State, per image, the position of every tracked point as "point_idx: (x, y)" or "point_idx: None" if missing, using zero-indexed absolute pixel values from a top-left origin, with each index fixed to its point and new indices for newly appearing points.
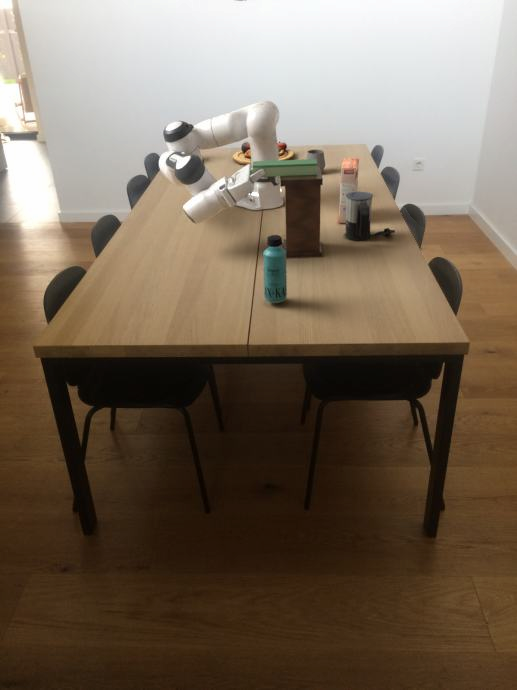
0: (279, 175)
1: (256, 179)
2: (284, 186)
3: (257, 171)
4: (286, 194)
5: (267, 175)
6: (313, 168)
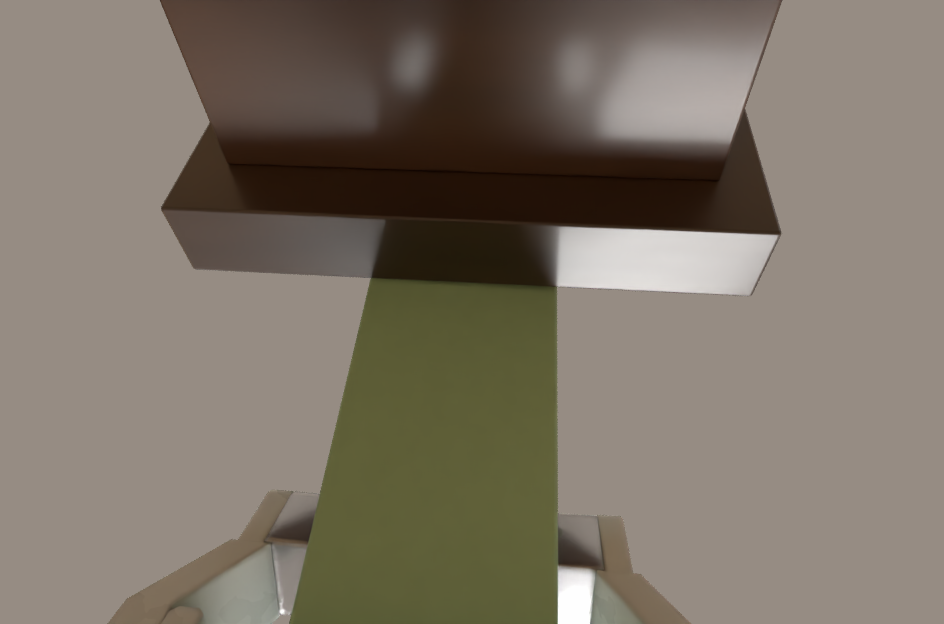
0: (370, 293)
1: (142, 606)
2: (181, 172)
3: (267, 621)
4: (182, 39)
5: (336, 441)
6: None
